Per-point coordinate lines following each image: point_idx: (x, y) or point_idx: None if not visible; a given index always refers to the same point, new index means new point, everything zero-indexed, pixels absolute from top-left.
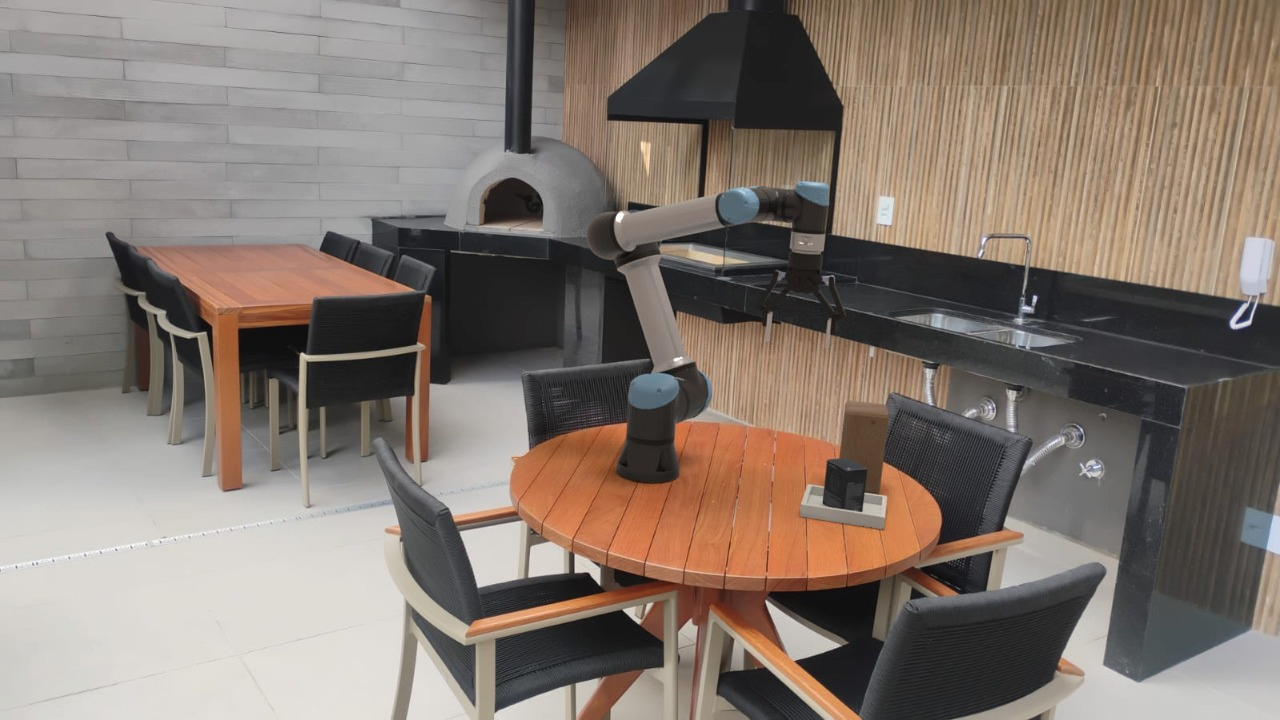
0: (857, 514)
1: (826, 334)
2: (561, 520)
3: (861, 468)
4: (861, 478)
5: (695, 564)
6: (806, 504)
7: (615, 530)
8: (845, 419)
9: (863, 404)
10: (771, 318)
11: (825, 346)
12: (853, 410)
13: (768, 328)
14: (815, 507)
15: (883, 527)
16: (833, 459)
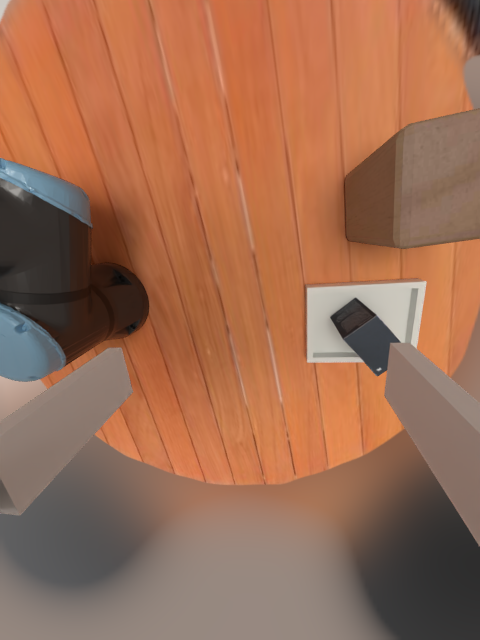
0: None
1: (422, 452)
2: (119, 440)
3: None
4: None
5: (240, 478)
6: (314, 360)
7: (162, 444)
8: (389, 245)
9: (457, 159)
10: (37, 439)
11: (391, 401)
12: (418, 241)
13: (89, 433)
14: (325, 361)
15: None
16: (353, 336)
